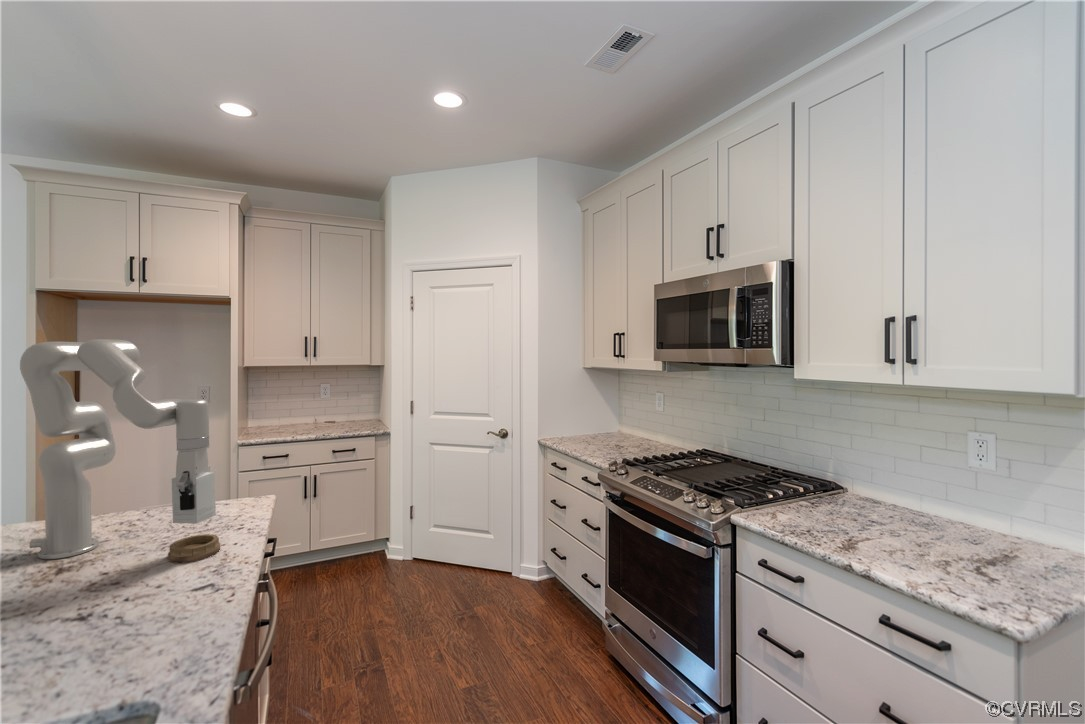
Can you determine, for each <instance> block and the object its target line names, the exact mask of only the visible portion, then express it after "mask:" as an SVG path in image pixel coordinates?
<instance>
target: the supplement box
mask: <svg viewBox="0 0 1085 724" xmlns="http://www.w3.org/2000/svg"><path fill="white" fill-rule="evenodd" d="M215 476H216V474H215V472H212V471H211V472H210V471H208V472H206V473H205V474H203V475H202V476H200V477H198V478H197V479H196V483H195V485H194V486H193V494H194V509H192V510H180V496H179V493H180V492H179V487H177V486H176V476H175V477H173V478H171V492H172V493H171V501H172V502H171V503H172V504H171V505H172V509H171V510H172V524H195V525H196V524H199V523H201V522H204V521H207V520H209V519H210V518H213V517H215V516H216V513H217V512H216V478H215ZM189 477H190V476H189ZM192 483H193V481H191V480H190V478H188V480H187V482H186V484H192ZM188 489H189V490H190V487H188Z"/></svg>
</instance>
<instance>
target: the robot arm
mask: <svg viewBox="0 0 1085 724" xmlns="http://www.w3.org/2000/svg"><path fill="white" fill-rule="evenodd" d="M140 353H141V352H140V350H139V348H138V347H137V346H136V344H135V343H133V342H131V341H129V340H126V339H108V338H107V339H106V338H105V339H104V338H102V339H101V338H98V339H97V338H96V339H90V340H88V341H85V342H84V341H45V342H44V341H43V342H39V343H34V344H32V345H30V346H29V347H28V348H26V349H25V350H24V351H23V353H22V355H21V357H20V360H19V369H20V374H21V376H22V378H23V380H24V382H25V383H24V384H25V385H26V387H27V389H28V392H29V395H30V398H31V403H32V407H33V411H34V414H35V415H34V416H35V420H36V423H37V427H38V430H39V432H40V433H41V434H42V436H45V437H47V438H62V437H69V436H74V435H78V437H79V438H75V439H70V440H63V441H59V442H55V443H52V444H50V445H48V446H47V447H45V448H44V449H42V451H41V452H40V454H39V455H38V459H37V460H38V461H37V462H38V467H39V471H40V473H41V476H42V477H41V478H42V481H43V491H44V493H43V494H44V517H45V519H44V520H45V523H44V526H45V527H44V528H45V529H44V532H45V537H43V538H32V539H31V540H30V542H29V546H28V547H29V548H30V549H34V548H40V550H39V551H38V553H37V557H38V558H39V559H42V560H56V559H63V558H69V557H74V556H77V555H81V554H85V553H88V552H90V551H92V550H94V549H96V548H97V547H99V545H100V540H99V539H97V538H92V537H93V533H92V531H93V529H92V528H93V527H92V522H93V521H92V487H91V483H90V482H89V480H88V478H87V477H86V476H85V475H84V473H83V472H85V471H88V470H91V469H92V470H93V469H97V468H99V467H103V466H106V465H108V464H110V463H111V462H112V461H113V459H114V458H115V455H116V444H115V439H114V435H113V430H112V427H111V422H110V419H109V418H110V417H109V415H108V413H107V411H106V409H105V408H104V407H103V405H101V404H100V403H98V402H96V401H91V400H90V401H89V400H85V401H84V400H83V401H76V399H75V397H74V393H73V389H72V386H71V384H70V383H69V381H67V380H66V378H65V377H63V376H62V375H61V374H60V372H75V371H76V372H80V371H81V372H82V371H91V372H92V373H93V374H94V375H95V376H96V377H98V378H99V379H100V380H102V381H103V382H104V383H105V384H106V385H107V386H108V387H109V388H110V389H112V400H113V403H114V406H115V408H116V410H117V411H118V413H120V414H121V416H123V417H124V418H125V419H126V420H127V421H128V422H130V423H131V424H133V425H134V426H136V427H138V428H140V429H144V430H151V429H158V428H162V427H169V426H175V433H176V435H175V436H176V437H175V438H176V451H177V456H176V466H175V467H176V468H175V469H176V470H175V477H176V486H177V487H179V492H180V493H179V496H180V510H192V509H194V494H193V486H194V485H195V483H196V479H197V478H198V477H200V476H202V475H203V474H205V473H206V472H209V457H208V455H209V454H208V449H209V448H210V411H209V402H208V401H207V400H205V399H201V398H200V399H199V398H198V399H183V398H167V399H164V398H163V399H157V400H156V399H155V400H148V399H147V398H146V397H144V396H143V395H142V394H141V393H140V392H138V391H137V389H136V388H138V386H140V385H141V383H142V382H143V381H144V380H145V377H146V372H145V370H144V369H143V368H142V367H141V366H139V365H138V364H137V363H138V362H139V360H140V356H141V354H140ZM189 476H190V477H189ZM188 478H190V480H191V481H193V483H192V484H186V482H187V480H188ZM188 487H190V490H189V489H188Z"/></svg>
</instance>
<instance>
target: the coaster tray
mask: <svg viewBox="0 0 1085 724" xmlns="http://www.w3.org/2000/svg"><path fill="white" fill-rule="evenodd" d="M219 540H220V539H219V536H218V535H217V534H210V533H206V534H196V535H192V536H188V537H187V536H186V537H183V538H180V539H178V540H175V541H174V542H172V543H171V544H169V551H168V553H167V560H169V561H168V562H170V563H172V562H177V563H176V564H183V563H182V562H188V563H192V562H191V561H194V562H197V560H199V561H202V560H201V559H203V560H206V559H209V558H211V557H213V556H215V555H216V553H217V552H218V553H220V551H221V543H220V541H219ZM219 550H220V551H219ZM218 553H217V554H218ZM212 555H213V556H212ZM210 556H211V557H210ZM208 557H209V558H208ZM205 558H206V559H205Z"/></svg>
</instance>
